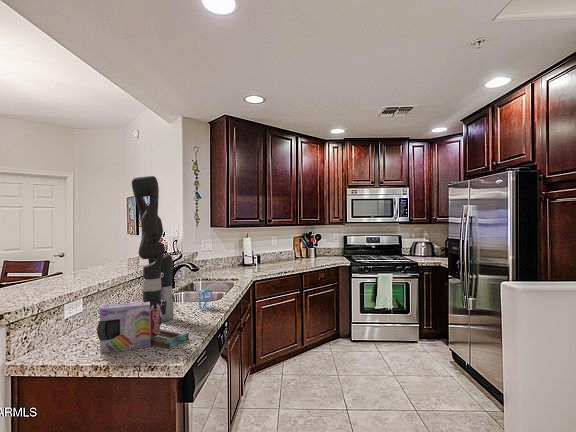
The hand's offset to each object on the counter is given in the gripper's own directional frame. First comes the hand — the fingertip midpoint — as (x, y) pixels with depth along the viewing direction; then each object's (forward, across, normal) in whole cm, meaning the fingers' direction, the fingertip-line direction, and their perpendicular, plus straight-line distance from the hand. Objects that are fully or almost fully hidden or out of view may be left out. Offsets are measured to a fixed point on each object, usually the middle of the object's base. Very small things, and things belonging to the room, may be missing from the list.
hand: (152, 327), depth 149 cm
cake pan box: (+5, +13, 0) cm, 14 cm away
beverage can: (+4, 0, 0) cm, 4 cm away
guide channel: (+5, 0, +5) cm, 7 cm away
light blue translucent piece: (+5, -48, -14) cm, 50 cm away
